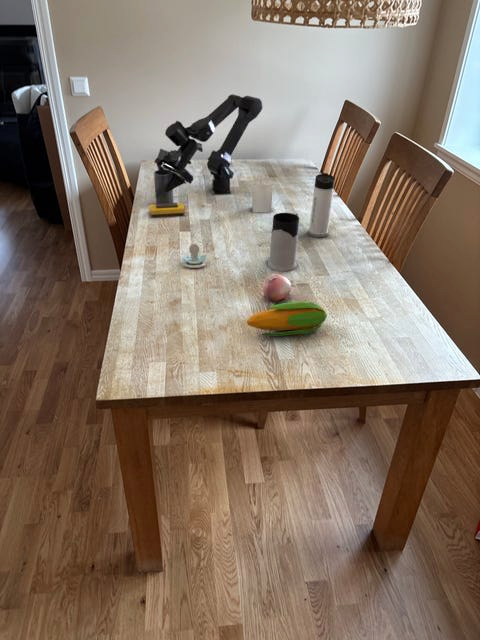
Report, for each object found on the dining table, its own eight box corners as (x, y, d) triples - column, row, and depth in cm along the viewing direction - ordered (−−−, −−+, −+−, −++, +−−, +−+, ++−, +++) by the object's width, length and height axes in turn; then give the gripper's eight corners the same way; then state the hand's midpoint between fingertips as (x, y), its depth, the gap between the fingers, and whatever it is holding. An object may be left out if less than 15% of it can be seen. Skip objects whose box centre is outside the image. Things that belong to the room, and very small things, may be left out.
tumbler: (176, 203, 188) (174, 171, 181) (169, 209, 183) (167, 176, 176) (160, 201, 189) (158, 168, 182) (153, 207, 184) (151, 174, 177)
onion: (262, 290, 137) (263, 267, 133) (290, 291, 137) (292, 268, 133) (262, 306, 130) (263, 282, 126) (291, 307, 130) (294, 283, 126)
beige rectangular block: (271, 212, 183) (272, 186, 178) (252, 212, 183) (254, 186, 177) (269, 208, 186) (271, 182, 181) (252, 208, 186) (253, 182, 180)
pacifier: (206, 269, 146) (206, 259, 151) (206, 250, 142) (206, 241, 147) (181, 269, 146) (182, 259, 150) (180, 250, 142) (181, 241, 147)
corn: (333, 309, 116) (250, 316, 112) (329, 336, 120) (249, 344, 116) (322, 294, 122) (243, 300, 119) (319, 320, 126) (243, 327, 122)
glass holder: (263, 266, 148) (266, 219, 140) (280, 248, 159) (284, 203, 151) (290, 273, 145) (295, 226, 137) (306, 254, 156) (311, 209, 148)
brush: (182, 210, 183) (182, 200, 181) (184, 215, 178) (184, 206, 176) (150, 212, 180) (149, 202, 178) (151, 217, 176) (150, 208, 174)
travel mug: (326, 230, 172) (334, 173, 160) (327, 238, 166) (335, 179, 155) (308, 229, 172) (315, 172, 161) (309, 237, 167) (315, 178, 155)
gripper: (157, 134, 181) (133, 169, 181) (185, 146, 169) (159, 183, 170) (176, 152, 190) (153, 186, 190) (204, 165, 178) (179, 201, 178)
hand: (160, 189), depth 182 cm, fingers closed on tumbler, 6 cm apart
